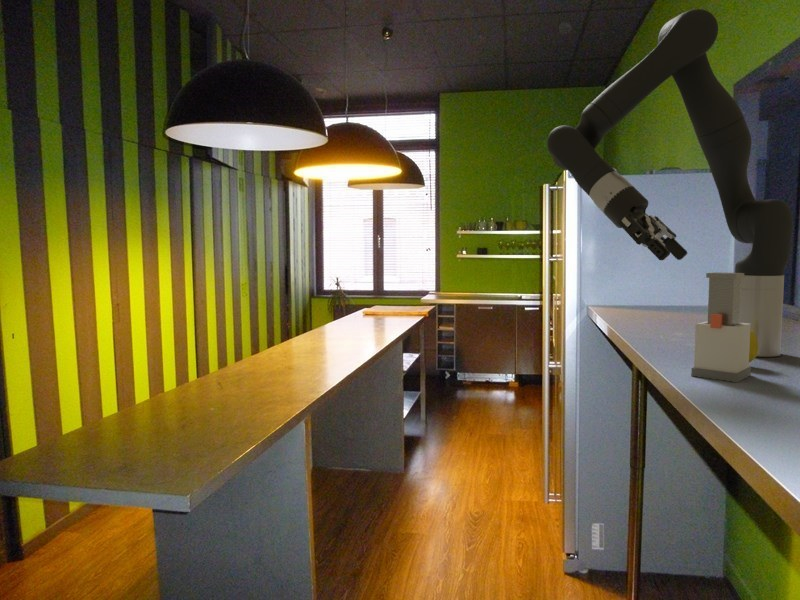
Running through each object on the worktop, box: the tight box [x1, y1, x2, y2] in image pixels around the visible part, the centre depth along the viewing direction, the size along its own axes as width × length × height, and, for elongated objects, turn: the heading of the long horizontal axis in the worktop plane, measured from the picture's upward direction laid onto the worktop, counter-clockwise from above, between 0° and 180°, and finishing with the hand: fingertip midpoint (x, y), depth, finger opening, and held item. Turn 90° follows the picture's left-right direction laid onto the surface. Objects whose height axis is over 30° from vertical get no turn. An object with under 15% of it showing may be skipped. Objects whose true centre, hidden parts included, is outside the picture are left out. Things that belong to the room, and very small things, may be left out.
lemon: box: [749, 330, 758, 363], centre depth 117 cm, size 6×6×8 cm
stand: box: [691, 314, 752, 383], centre depth 108 cm, size 8×8×12 cm
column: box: [705, 271, 744, 326], centre depth 108 cm, size 5×5×17 cm
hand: (675, 257), depth 113 cm, fingers open, 8 cm apart
